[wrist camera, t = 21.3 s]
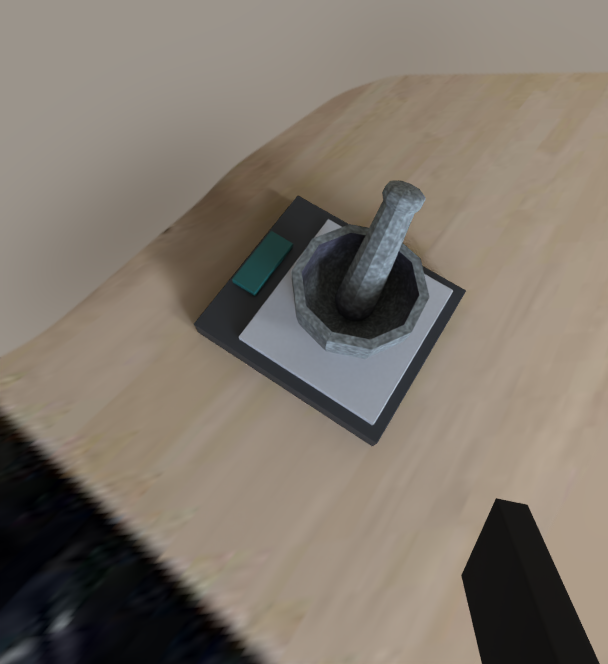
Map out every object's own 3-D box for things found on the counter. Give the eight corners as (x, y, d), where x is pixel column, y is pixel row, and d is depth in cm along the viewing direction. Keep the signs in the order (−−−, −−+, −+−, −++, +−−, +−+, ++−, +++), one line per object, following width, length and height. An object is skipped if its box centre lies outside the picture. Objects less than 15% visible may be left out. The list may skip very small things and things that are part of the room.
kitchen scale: (197, 332, 41) (192, 320, 38) (297, 207, 46) (297, 191, 43) (372, 446, 38) (378, 442, 35) (458, 299, 43) (468, 287, 40)
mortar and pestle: (371, 397, 36) (409, 349, 25) (270, 341, 38) (263, 272, 26) (428, 287, 40) (483, 202, 29) (334, 240, 41) (351, 141, 30)
